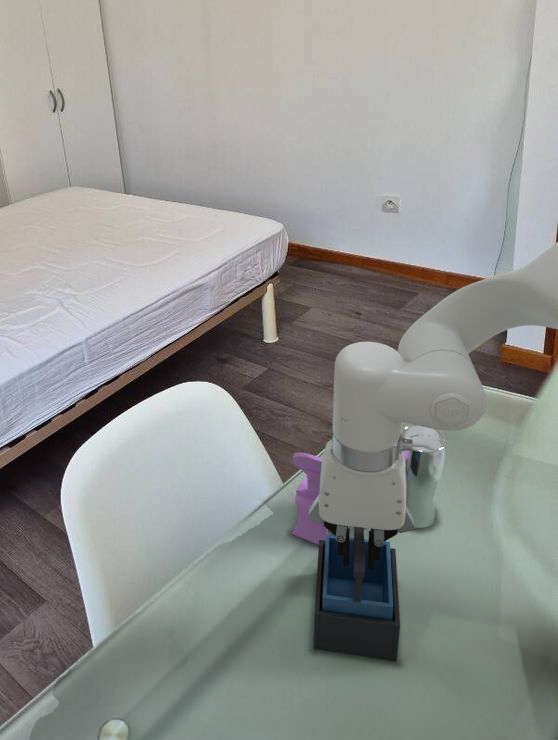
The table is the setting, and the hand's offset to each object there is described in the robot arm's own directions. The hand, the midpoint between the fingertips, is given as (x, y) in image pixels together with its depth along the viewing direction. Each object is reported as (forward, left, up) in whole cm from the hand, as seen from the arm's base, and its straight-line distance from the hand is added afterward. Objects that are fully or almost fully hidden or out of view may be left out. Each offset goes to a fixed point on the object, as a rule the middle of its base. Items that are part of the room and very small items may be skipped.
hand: (358, 558), depth 88 cm
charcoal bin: (0, 0, -10) cm, 10 cm away
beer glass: (-9, -20, -11) cm, 24 cm away
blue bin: (0, 0, -10) cm, 10 cm away
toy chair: (+5, -16, -11) cm, 20 cm away
